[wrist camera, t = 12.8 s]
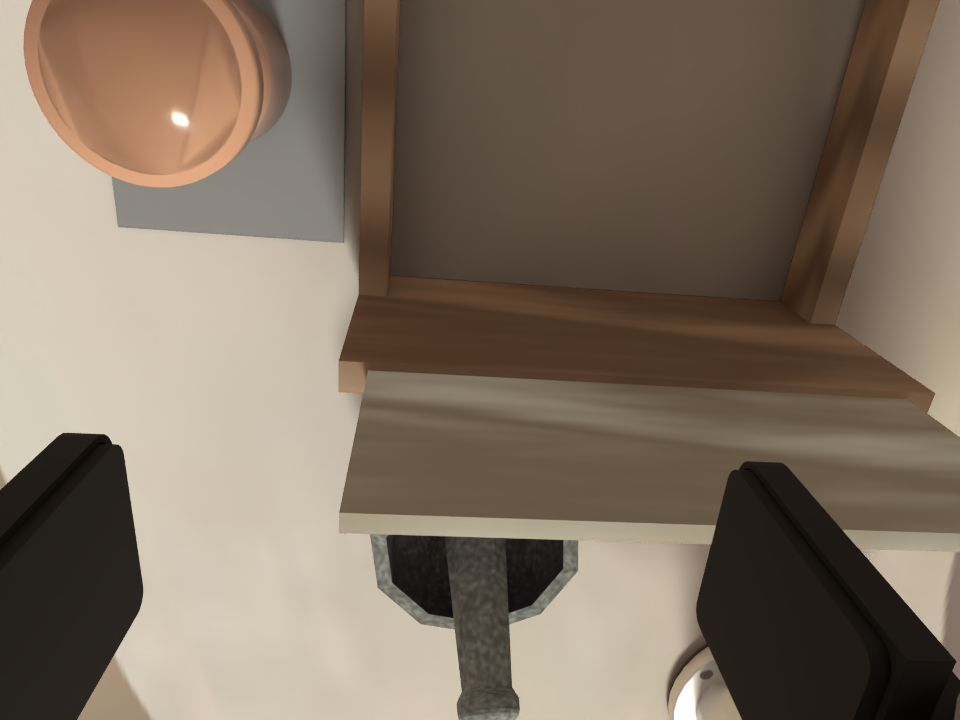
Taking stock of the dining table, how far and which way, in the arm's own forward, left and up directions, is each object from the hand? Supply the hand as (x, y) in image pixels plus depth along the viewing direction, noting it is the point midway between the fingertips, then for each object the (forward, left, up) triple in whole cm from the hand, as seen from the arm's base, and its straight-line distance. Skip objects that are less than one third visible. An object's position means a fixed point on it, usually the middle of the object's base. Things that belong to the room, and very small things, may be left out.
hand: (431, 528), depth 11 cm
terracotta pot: (+5, +9, -23) cm, 25 cm away
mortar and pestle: (-15, -3, -23) cm, 28 cm away
